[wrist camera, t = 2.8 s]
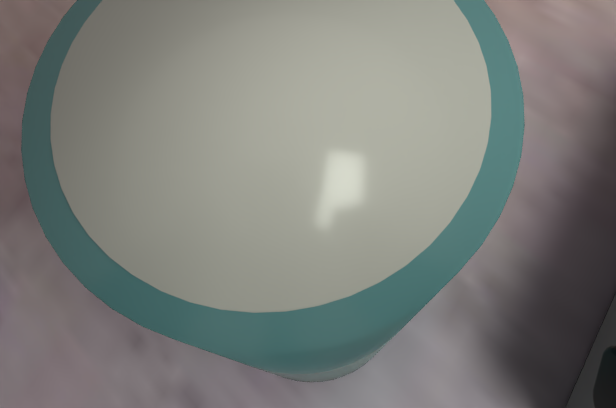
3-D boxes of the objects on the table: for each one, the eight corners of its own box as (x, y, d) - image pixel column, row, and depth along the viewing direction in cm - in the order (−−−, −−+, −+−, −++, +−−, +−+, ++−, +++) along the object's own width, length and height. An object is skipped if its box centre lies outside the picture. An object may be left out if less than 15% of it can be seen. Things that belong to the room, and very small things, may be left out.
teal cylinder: (342, 420, 17) (359, 480, 5) (190, 318, 18) (-90, 170, 6) (431, 261, 18) (609, 13, 6) (285, 179, 20) (210, -153, 8)
